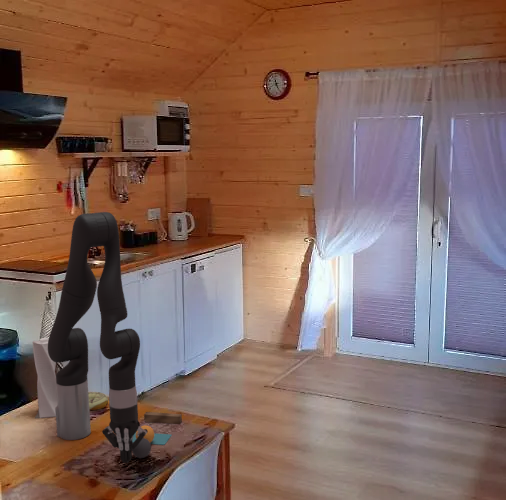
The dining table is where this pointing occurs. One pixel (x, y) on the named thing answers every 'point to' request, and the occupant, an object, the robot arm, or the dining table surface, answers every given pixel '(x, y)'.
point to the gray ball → (142, 448)
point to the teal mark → (157, 438)
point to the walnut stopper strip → (162, 417)
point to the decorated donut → (97, 400)
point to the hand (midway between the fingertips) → (126, 461)
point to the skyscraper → (45, 379)
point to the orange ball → (149, 435)
